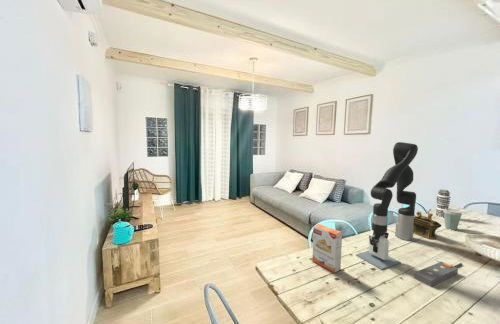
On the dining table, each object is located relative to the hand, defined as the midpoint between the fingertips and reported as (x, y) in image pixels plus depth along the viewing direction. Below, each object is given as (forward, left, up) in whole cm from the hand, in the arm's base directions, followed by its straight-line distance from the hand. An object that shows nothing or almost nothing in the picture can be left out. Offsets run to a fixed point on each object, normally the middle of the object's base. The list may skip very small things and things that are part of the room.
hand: (378, 251), depth 123 cm
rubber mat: (0, 0, -5) cm, 5 cm away
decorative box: (-10, +62, -5) cm, 63 cm away
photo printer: (0, 0, -3) cm, 3 cm away
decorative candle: (-23, +119, -5) cm, 121 cm away
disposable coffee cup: (-6, +94, -5) cm, 94 cm away
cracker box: (-7, -32, -5) cm, 33 cm away
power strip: (+22, +18, -5) cm, 29 cm away
